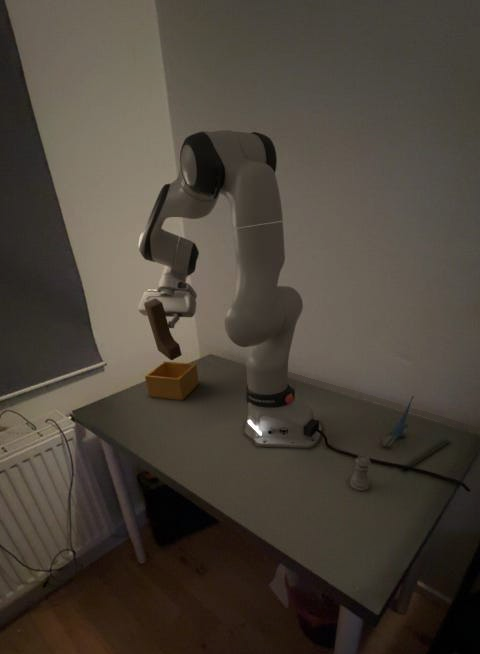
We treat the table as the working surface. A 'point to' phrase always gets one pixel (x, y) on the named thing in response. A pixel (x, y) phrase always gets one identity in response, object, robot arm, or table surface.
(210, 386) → the table surface
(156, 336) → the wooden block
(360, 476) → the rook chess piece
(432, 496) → the table surface
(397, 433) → the dinosaur figurine
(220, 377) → the table surface
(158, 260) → the robot arm
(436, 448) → the rod
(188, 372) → the bin
